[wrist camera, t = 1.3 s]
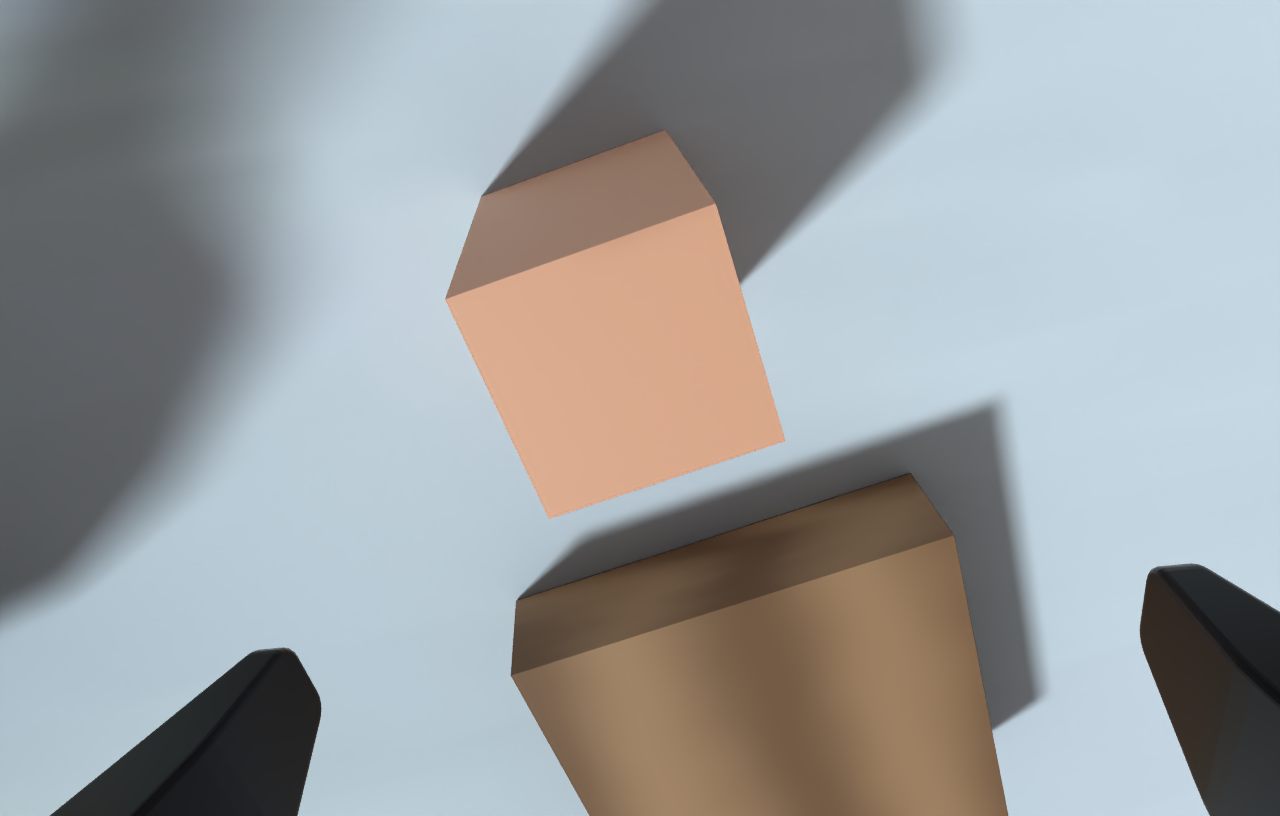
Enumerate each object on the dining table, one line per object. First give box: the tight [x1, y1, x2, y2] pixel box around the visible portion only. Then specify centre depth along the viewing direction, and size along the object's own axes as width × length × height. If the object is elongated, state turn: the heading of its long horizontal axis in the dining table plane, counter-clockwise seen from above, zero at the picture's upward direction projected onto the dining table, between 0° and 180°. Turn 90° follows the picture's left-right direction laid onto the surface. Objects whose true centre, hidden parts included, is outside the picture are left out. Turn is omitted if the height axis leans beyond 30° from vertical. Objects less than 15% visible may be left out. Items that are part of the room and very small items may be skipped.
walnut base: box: [511, 473, 1008, 816], centre depth 26 cm, size 12×12×3 cm
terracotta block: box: [445, 130, 785, 519], centre depth 17 cm, size 4×4×7 cm
